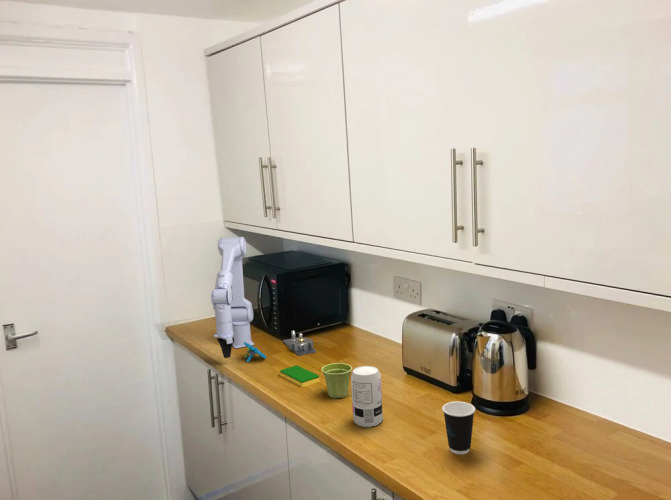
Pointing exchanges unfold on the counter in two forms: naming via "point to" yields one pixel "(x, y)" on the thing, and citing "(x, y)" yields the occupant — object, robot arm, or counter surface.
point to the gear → (252, 352)
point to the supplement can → (366, 396)
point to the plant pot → (337, 379)
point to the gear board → (300, 344)
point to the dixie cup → (459, 425)
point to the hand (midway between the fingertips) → (227, 357)
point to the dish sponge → (299, 376)
